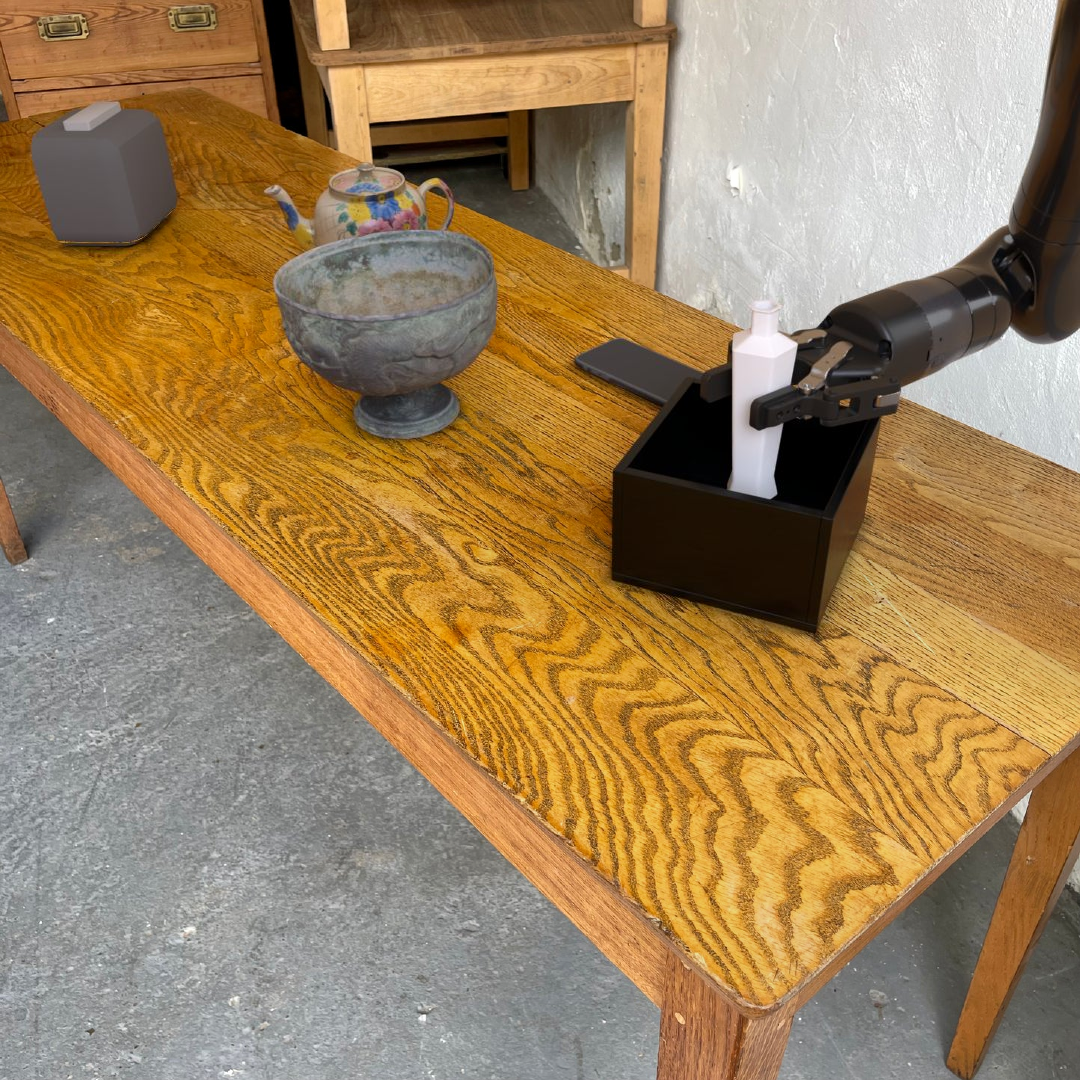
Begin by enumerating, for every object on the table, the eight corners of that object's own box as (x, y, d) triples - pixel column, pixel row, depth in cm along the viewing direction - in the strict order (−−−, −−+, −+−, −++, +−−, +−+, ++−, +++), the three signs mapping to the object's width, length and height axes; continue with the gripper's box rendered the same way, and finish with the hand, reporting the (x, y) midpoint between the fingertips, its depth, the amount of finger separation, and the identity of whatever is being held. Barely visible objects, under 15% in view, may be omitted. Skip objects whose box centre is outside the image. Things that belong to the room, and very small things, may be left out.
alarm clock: (111, 209, 157) (81, 94, 148) (188, 210, 156) (163, 94, 146) (59, 252, 143) (23, 128, 134) (142, 253, 142) (112, 128, 133)
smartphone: (682, 409, 103) (569, 357, 112) (681, 418, 103) (569, 366, 112) (732, 383, 107) (619, 334, 116) (731, 391, 108) (619, 343, 116)
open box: (864, 519, 89) (882, 412, 83) (815, 634, 78) (833, 519, 72) (681, 478, 95) (686, 376, 89) (610, 580, 84) (612, 470, 78)
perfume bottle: (742, 468, 86) (757, 286, 77) (790, 489, 83) (810, 302, 74) (705, 492, 83) (715, 306, 75) (753, 514, 81) (769, 324, 72)
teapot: (409, 239, 144) (399, 134, 136) (470, 268, 135) (463, 158, 127) (271, 279, 134) (252, 169, 126) (327, 313, 125) (310, 197, 117)
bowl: (291, 383, 111) (266, 239, 103) (479, 357, 115) (469, 215, 106) (307, 484, 96) (279, 324, 87) (524, 450, 99) (517, 293, 91)
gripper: (831, 262, 87) (664, 319, 80) (983, 321, 77) (808, 392, 70) (821, 349, 92) (661, 411, 84) (963, 415, 82) (796, 492, 74)
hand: (729, 402), depth 77 cm, fingers closed on perfume bottle, 4 cm apart
